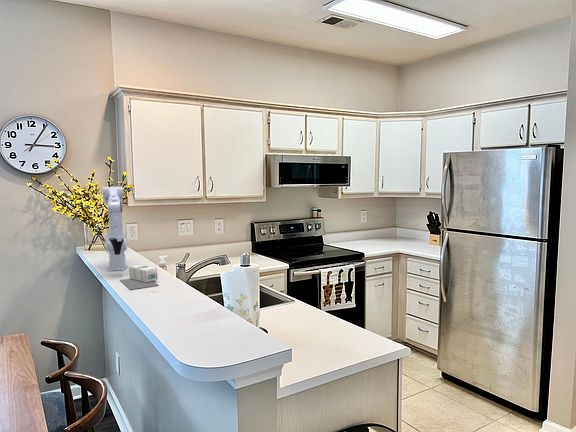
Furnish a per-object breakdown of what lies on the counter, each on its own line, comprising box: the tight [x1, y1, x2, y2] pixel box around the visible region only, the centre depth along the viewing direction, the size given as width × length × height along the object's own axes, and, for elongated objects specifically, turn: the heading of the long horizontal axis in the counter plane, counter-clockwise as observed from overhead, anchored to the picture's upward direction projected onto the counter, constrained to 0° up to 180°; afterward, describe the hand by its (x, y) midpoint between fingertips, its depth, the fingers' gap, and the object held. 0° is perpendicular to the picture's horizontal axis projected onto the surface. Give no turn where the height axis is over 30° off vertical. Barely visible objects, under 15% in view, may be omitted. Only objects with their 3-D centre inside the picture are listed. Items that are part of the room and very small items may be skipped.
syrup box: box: [128, 264, 159, 282], centre depth 192 cm, size 6×6×14 cm
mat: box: [119, 277, 160, 291], centre depth 187 cm, size 20×12×1 cm, turn 33°
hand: (117, 254), depth 201 cm, fingers closed
